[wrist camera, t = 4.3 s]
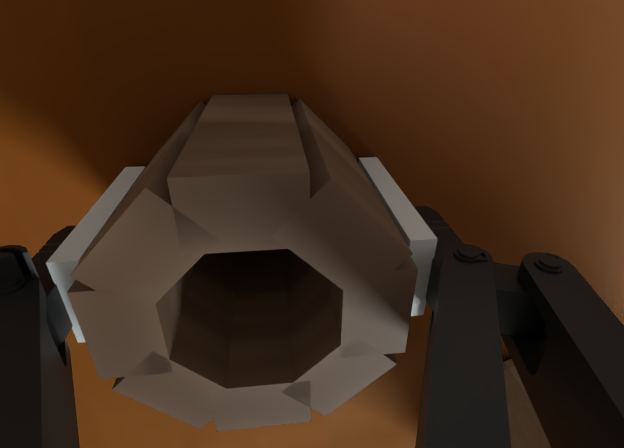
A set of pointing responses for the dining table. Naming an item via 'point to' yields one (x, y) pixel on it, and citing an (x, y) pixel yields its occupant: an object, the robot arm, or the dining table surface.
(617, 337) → the robot arm
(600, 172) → the dining table surface
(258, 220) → the walnut bead
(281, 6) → the dining table surface
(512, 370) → the wooden block
